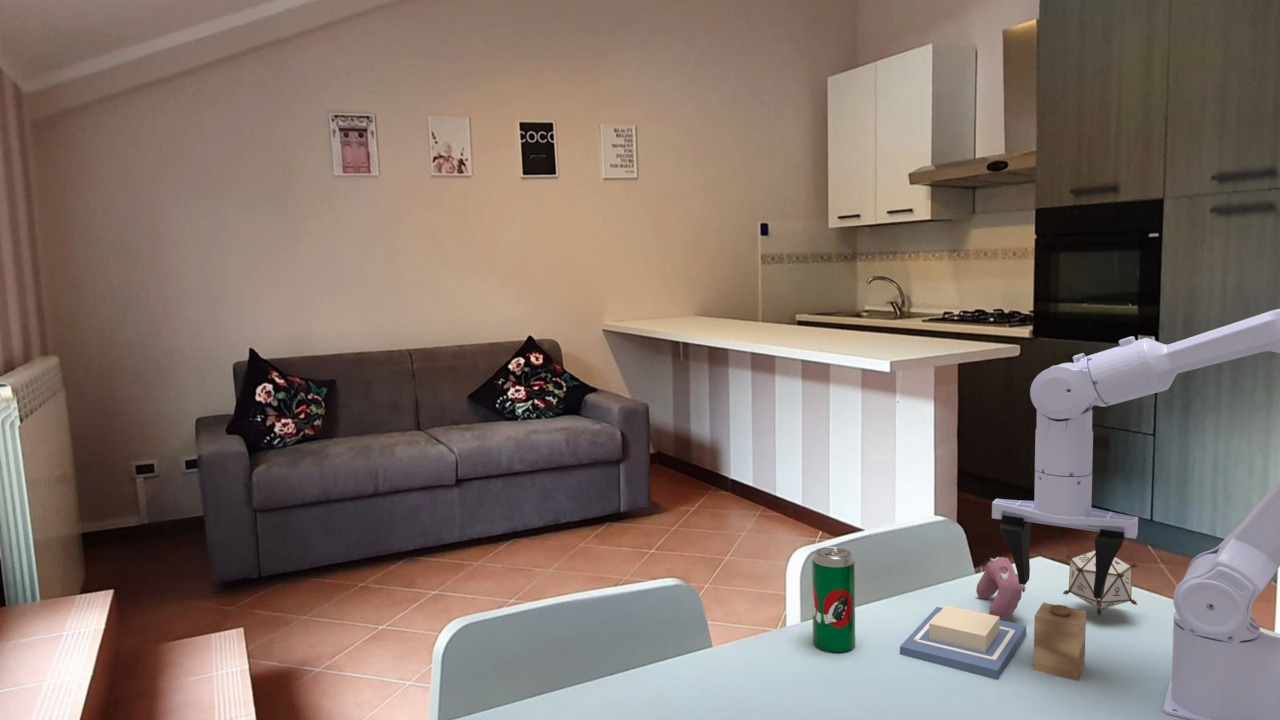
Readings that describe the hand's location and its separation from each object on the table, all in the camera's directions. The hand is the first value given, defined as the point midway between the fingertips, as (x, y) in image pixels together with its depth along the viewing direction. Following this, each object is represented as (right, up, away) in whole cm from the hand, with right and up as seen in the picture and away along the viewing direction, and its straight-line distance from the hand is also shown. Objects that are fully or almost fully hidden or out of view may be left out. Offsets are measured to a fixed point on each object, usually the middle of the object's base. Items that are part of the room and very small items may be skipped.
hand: (1060, 588), depth 94 cm
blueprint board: (-8, -9, +7) cm, 14 cm away
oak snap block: (0, -9, +1) cm, 9 cm away
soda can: (-24, -10, +8) cm, 27 cm away
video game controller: (+1, -8, +17) cm, 19 cm away
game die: (+12, -8, +14) cm, 20 cm away
